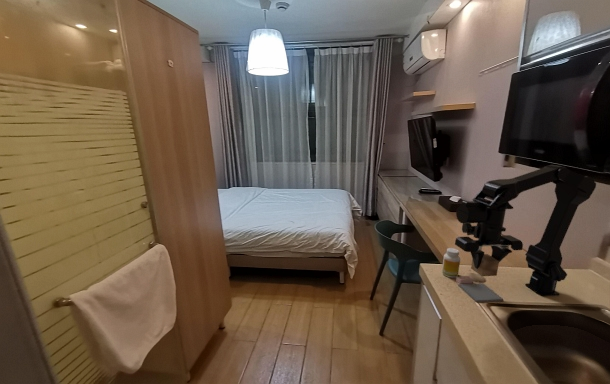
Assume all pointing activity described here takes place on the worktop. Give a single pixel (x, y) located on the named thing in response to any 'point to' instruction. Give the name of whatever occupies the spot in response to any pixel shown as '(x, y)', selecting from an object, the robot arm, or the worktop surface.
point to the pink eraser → (464, 280)
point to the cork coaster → (476, 277)
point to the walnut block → (487, 266)
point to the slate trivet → (480, 292)
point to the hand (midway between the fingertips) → (484, 267)
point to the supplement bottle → (451, 263)
